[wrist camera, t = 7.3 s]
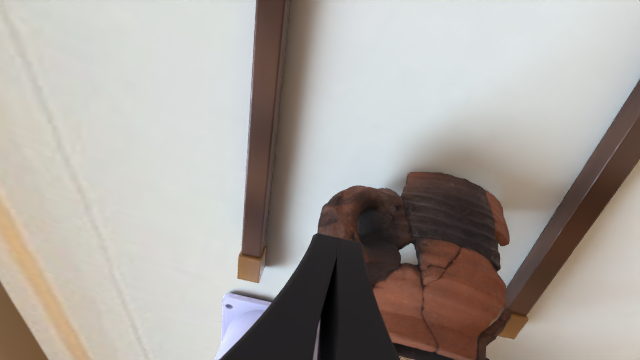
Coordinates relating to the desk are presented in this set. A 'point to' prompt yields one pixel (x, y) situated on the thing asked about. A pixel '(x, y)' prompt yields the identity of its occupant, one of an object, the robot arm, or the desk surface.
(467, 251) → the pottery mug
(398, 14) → the desk surface
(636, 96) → the walnut slot
